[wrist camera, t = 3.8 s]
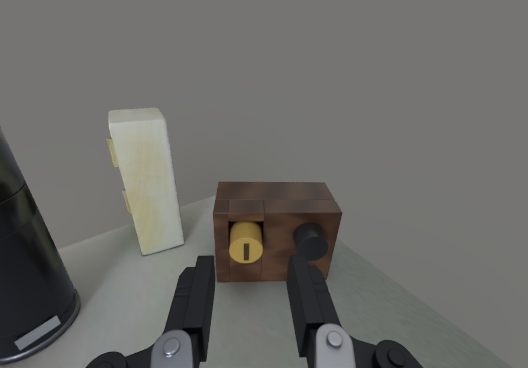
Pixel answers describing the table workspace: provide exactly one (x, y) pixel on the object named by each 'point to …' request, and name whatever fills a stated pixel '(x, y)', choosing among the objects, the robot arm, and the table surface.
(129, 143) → the toy refrigerator
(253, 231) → the brass knob
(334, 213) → the control box
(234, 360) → the table surface
